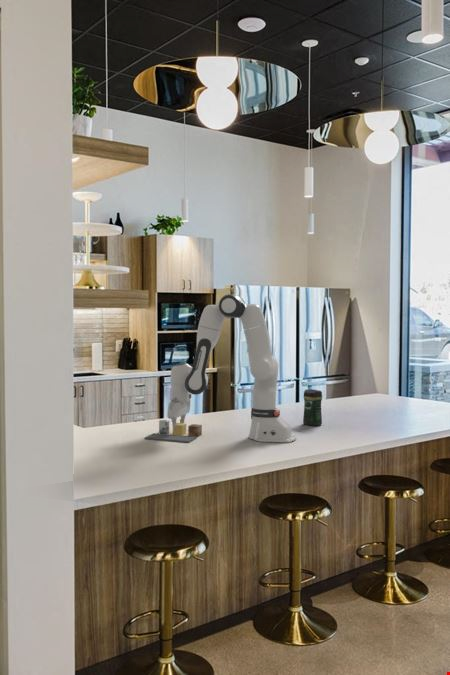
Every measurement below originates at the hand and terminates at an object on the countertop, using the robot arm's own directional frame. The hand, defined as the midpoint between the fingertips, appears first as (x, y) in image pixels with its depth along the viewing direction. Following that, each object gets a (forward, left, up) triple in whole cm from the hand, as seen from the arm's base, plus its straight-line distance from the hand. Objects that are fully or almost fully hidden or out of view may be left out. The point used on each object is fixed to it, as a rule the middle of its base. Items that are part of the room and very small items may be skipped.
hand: (178, 425), depth 312 cm
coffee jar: (-57, -48, -5) cm, 74 cm away
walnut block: (-9, 0, -5) cm, 10 cm away
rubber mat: (-1, +11, -4) cm, 12 cm away
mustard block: (-1, 0, -5) cm, 5 cm away
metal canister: (+7, 0, -5) cm, 9 cm away
